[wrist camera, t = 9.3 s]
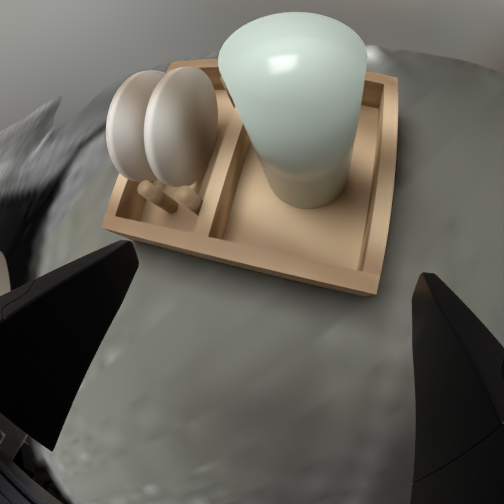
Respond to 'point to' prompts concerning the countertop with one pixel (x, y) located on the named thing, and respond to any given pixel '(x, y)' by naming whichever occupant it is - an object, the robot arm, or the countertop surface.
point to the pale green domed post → (298, 100)
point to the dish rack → (244, 182)
